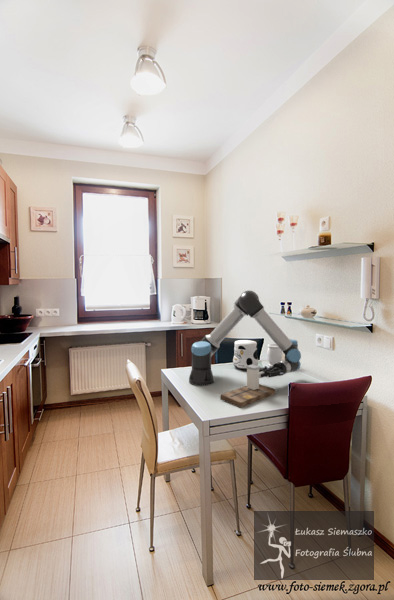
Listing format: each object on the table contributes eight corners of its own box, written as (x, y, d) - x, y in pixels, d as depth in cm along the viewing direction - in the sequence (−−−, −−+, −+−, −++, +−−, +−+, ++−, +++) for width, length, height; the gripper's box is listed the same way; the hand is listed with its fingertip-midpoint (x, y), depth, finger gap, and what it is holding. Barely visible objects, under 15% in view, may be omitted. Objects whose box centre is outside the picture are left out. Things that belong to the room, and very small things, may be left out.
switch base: (255, 387, 182) (255, 382, 182) (275, 393, 172) (275, 389, 172) (220, 399, 164) (220, 394, 164) (240, 407, 154) (240, 402, 154)
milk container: (228, 368, 219) (228, 342, 218) (240, 362, 234) (240, 338, 232) (251, 372, 210) (251, 345, 208) (262, 366, 224) (262, 341, 222)
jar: (279, 368, 218) (279, 347, 217) (265, 366, 224) (265, 345, 223) (284, 365, 227) (284, 344, 226) (270, 363, 233) (270, 342, 232)
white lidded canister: (251, 385, 176) (251, 364, 175) (259, 388, 172) (259, 366, 171) (246, 387, 173) (246, 365, 172) (254, 390, 169) (254, 368, 168)
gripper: (290, 377, 184) (265, 386, 169) (272, 372, 194) (246, 380, 179) (291, 364, 183) (265, 372, 168) (272, 359, 193) (246, 367, 178)
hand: (255, 376), depth 173 cm, fingers closed
